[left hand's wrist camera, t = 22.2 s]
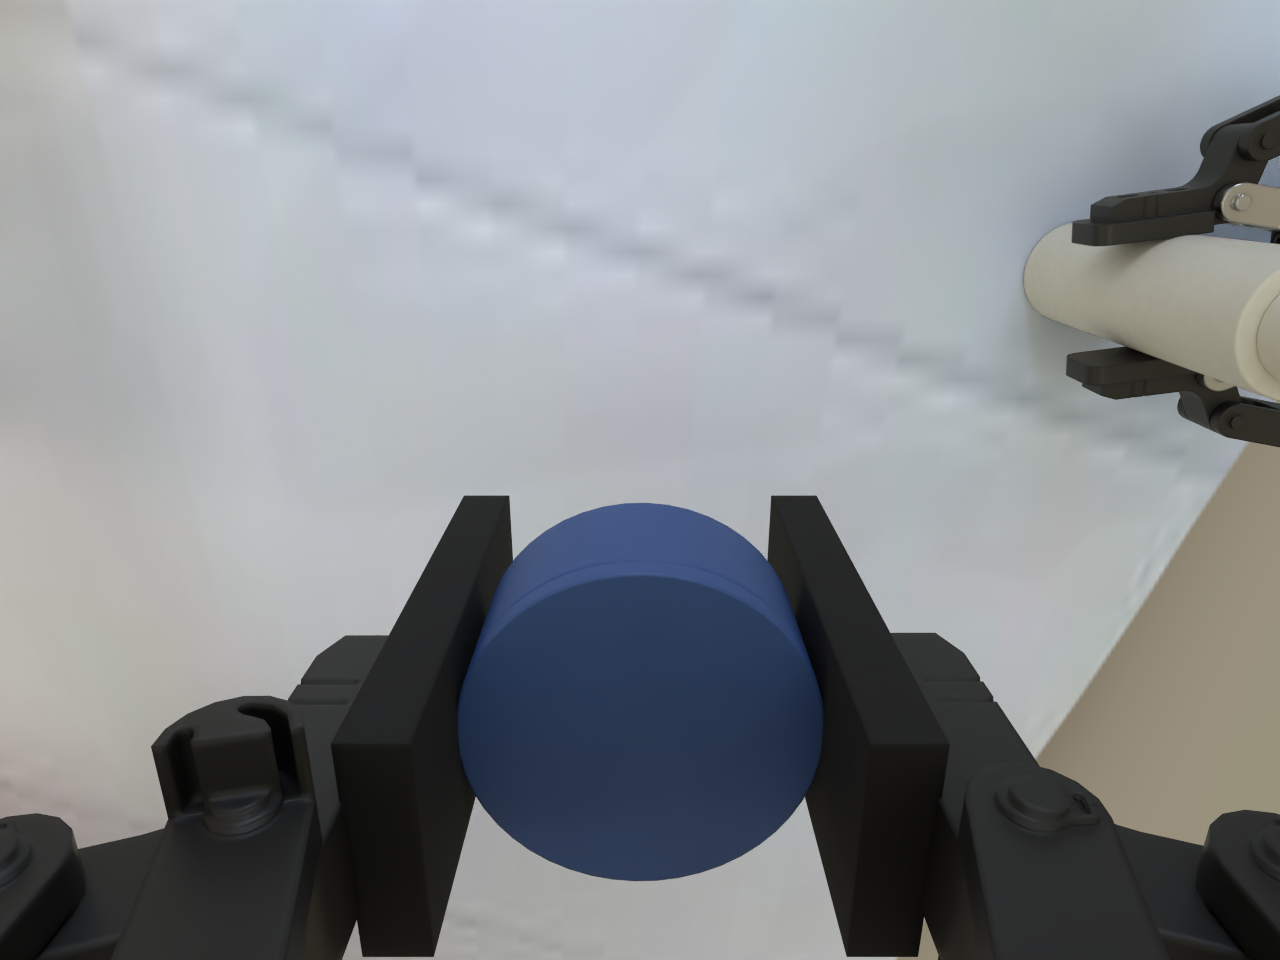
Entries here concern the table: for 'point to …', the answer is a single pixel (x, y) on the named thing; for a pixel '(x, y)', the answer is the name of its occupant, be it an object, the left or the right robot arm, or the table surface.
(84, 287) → the table surface
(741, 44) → the table surface
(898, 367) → the table surface
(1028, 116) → the table surface
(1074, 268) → the jar
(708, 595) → the lid
